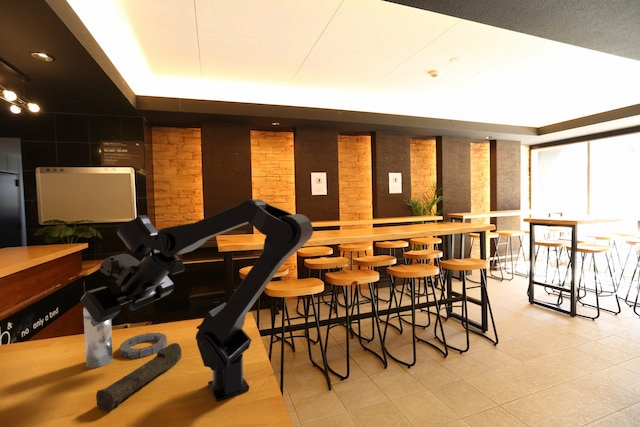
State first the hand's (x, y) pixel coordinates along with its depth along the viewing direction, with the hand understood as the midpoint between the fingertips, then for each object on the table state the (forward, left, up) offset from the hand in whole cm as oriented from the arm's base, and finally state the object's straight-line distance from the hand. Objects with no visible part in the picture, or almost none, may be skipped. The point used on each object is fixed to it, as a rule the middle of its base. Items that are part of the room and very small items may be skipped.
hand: (113, 316), depth 69 cm
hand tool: (-10, -5, -12) cm, 16 cm away
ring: (+6, -6, -11) cm, 14 cm away
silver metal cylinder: (+4, +3, -11) cm, 12 cm away
